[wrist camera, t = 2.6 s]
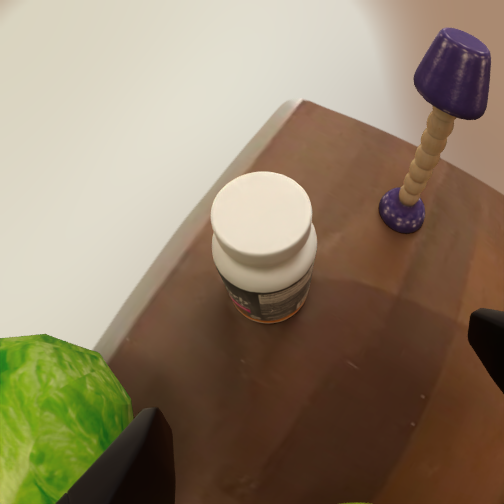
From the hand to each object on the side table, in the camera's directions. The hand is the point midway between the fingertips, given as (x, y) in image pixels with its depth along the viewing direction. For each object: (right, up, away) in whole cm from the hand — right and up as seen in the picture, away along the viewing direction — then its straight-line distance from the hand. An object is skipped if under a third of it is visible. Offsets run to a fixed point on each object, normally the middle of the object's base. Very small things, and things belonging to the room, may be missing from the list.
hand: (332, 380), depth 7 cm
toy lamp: (+10, +6, +18) cm, 22 cm away
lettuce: (-10, -13, 0) cm, 17 cm away
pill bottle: (-1, +1, +16) cm, 16 cm away
